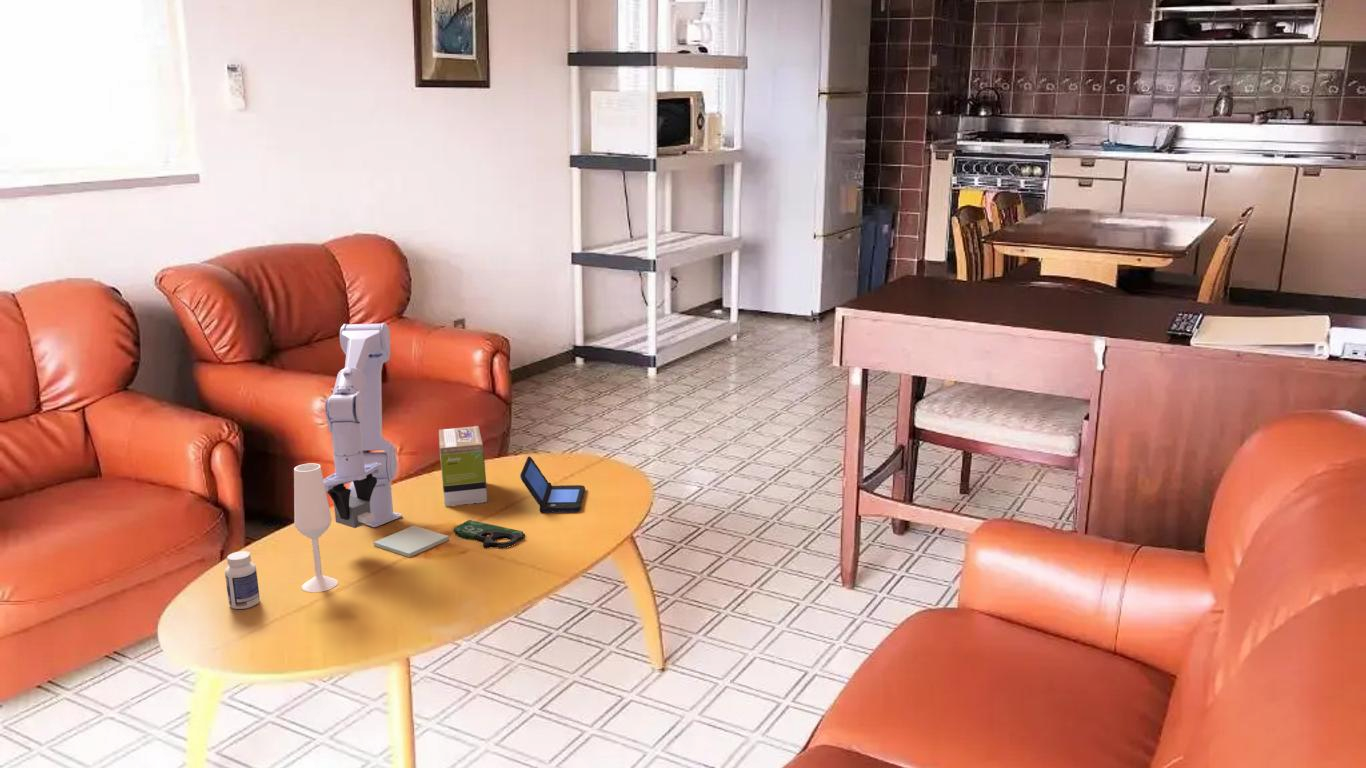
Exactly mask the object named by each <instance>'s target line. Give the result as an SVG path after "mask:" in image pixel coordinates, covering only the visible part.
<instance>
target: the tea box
mask: <svg viewBox="0 0 1366 768" xmlns="http://www.w3.org/2000/svg"><path fill="white" fill-rule="evenodd" d="M438 441H439V442H438V443H439V444H438V445H439V456H440V457H439V458H440V469H441V480H442V481H441V482H442V489H443V500H444V506H445V507H446V506H448V507H453V506H452V505H459V506H463V505H462V504H468V505H474V504H473V503H477V504H485V503H488V493H487V491H488V489H487V477H486V476H487V475H486V463H485V452H484V451H485V450H484V445H483V439H482V435H481V431H480V427H479V425H474V426H464V427H455V428H443V429H440V428H439V429H438ZM484 502H485V503H484Z"/></svg>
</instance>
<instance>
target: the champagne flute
mask: <svg viewBox="0 0 1366 768" xmlns="http://www.w3.org/2000/svg"><path fill="white" fill-rule="evenodd" d="M293 479H294V480H293V482H294V483H293V488H294V489H293V490H294V491H293V492H294V494H293V495H294V496H293V497H294V500H293V501H294V502H293V503H294V504H293V505H294V508H293V509H294V514H293V515H294V527H295V528H296V530H297V531H298V532H299V533H300V534H301V535H302V536H305V537H306V538H308V539H311V543H312V553H313V554H312V555H313V562H314V573H315V576H313V577H312V578H310V579H309V580H307V581H306V582H304V583H303V584H302V586H301V589H302V591H304V592H306V593H307V592H308V593H320V592H325V591H330V590H331V589H333V588H335V587H336V586H337V585H338V583H339V582H338V580H337V579H336V578H333V577H330V576H327V575H324V574H323V571H322V562H321V553H320V552H321V551H320V543H319V538H321V537H322V536H323V535H324V534H325V533H326V531H327V530H328V529H329V527H330V526H331V524H332V520H333V519H332V515H331V511H330V505H329V500H328V496H327V492H326V490H325V485H324V480H323V479H324V477H323V471H322V468H321V464H319V463H312V462H311V463H304V464H299V465H297V466H295V467H294V468H293Z"/></svg>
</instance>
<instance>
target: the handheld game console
mask: <svg viewBox="0 0 1366 768" xmlns="http://www.w3.org/2000/svg"><path fill="white" fill-rule="evenodd" d="M541 471H542V470H540V468H539V467H538V465H537V464H536V462H535V460H534V459H533V458H532V457H531V456H529V455H528V456H527V458H526V460H525V463H524V465H523V468H522V470H521V472H520V474H519V476H520V477H519V478H520V480H521V482H522V483H523V484H524V486H525V487H526V490H528V491H529V494H530V495H531V496H532V497H533V499H534V500H535V502H536V503H537V505H539V510H538V511H539V513H541V514H544V513H578V512H579V511H581V509H582V505H583V500H584V496H585V492H586V486H585V485H579V484H577V485H575V484H574V485H573V484H571V485H570V484H569V485H563V484H561V485H560V484H559V485H552V483H551V482H549V481H548V480H547V478H546V476H545V475H544V474H543V473H542V472H541Z"/></svg>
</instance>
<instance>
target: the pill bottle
mask: <svg viewBox="0 0 1366 768" xmlns="http://www.w3.org/2000/svg"><path fill="white" fill-rule="evenodd" d="M226 558H227V559H226V561H227V563H226V564H227V565H228V566H227V567H226V568H225V569H224V575H225V577H224V578H225V584H226V593H227V597H228V604H229V605H228V606H229V607H230V608H231V609H234V610H244V609H250V608H252V607H254V606H256V605H258V604H259V602H260V599H261V597H260V589H259V582H258V573H257V572H258V571H257V566H256V565H255V563H253V562H252V557H251V553H250V552H249V551H247V550H246V551H245V550H244V551H243V550H242V551H235V552H232V553H230V554H229V555H227V557H226Z"/></svg>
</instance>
